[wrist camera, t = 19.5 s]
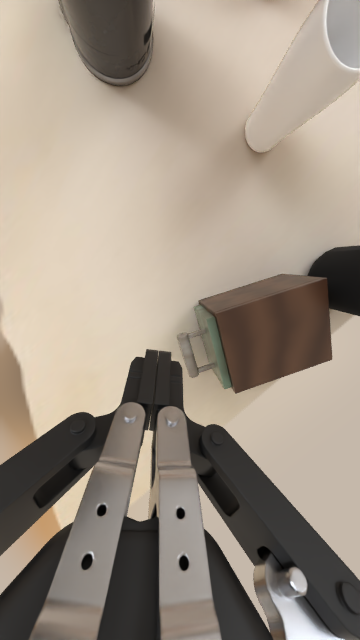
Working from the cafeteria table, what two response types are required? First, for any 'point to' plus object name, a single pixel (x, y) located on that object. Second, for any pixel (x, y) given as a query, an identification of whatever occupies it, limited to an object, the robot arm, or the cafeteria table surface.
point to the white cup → (309, 73)
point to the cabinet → (272, 328)
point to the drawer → (211, 345)
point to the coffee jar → (341, 277)
